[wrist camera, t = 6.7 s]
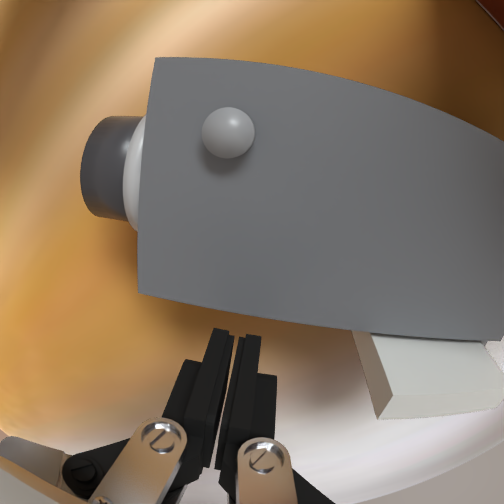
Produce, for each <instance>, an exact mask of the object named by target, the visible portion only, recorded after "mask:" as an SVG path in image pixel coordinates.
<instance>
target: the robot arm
mask: <svg viewBox="0 0 504 504" xmlns="http://www.w3.org/2000/svg"><path fill="white" fill-rule="evenodd" d="M233 343H234V336H232V335H229V331H228V330H222V329H217V328H214V329H213V331H212V334H211V337H210V340H209V343H208V346H207V349H206V352H205V355H204V358H203V361H202V362H197V361H192V360H188V359H185V361H184V363H183V365H182V368H181V370H180V372H179V375H178V377H177V380H176V382H175V385H174V387H173V390H172V392H171V395H170V397H169V400H168V402H167V405H166V407H165V410H164V413H163V415H162V418H157V417H156V418H152V419H148V420H146V421H144V422H143V423H142V424H141V425H140V426H139V427H138V428H137V430H136V431H135V433H134V434H133V436H132V437H131V438H129V439H126V440H123V441H120V442H116V443H113V444H110V445H107V446H103V447H100V448H97V449H93V450H90V451H86V452H82V453H78V454H75V455H73V456H72V455H68V454H65V452H64V451H61V450H57V449H53V448H50V447H46V446H43V445H40V444H37V443H34V442H30V441H28V440H25V439H22V438H19V437H14V436H10V437H6V438H5V439H3V440H2V441H1V443H0V504H179V502H180V500H181V498H182V496H183V494H184V492H185V490H186V488H187V485H188V484H189V483H191V482H193V481H195V480H197V479H199V475H200V474H202V470H203V467H206V468H209V467H210V463H211V458H212V454H213V449H214V444H215V440H216V435H217V431H218V426H219V422H220V417H221V413H222V408H223V403H224V399H225V394H226V389H227V383H228V376H229V369H230V363H231V356H232V350H233ZM260 346H261V336H256V335H250V334H246V338H243V337H239V341H238V346H237V350H236V355H235V360H234V365H233V369H232V374H231V379H230V383H229V388H228V393H227V398H226V402H225V407H224V412H223V417H222V422H221V427H220V434H219V440H218V447H217V454H216V461H215V468H214V469H216V470H221V472H220V477H219V484H220V485H221V486H222V488H223V489H224V490H225V491H226V492H227V504H335V503H334V502H332V501H331V500H330V499H329V498H327V497H326V496H325V495H323V494H322V493H321V492H320V491H319V490H317V489H316V488H315V487H314V486H312V485H311V484H310V483H309V482H308V481H306V480H305V479H304V478H303V477H302V476H301V475H299V474H298V473H297V472H296V471H295V470H294V469H293V468H292V466H291V460H290V455H289V453H288V450H287V449H286V448H285V447H284V446H283V445H282V444H281V443H279V442H278V441H276V440H274V435H275V416H276V395H277V376H275V375H268V374H261V373H257V372H258V364H259V355H260Z"/></svg>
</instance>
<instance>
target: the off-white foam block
mask: <svg viewBox="0 0 504 504" xmlns="http://www.w3.org/2000/svg"><path fill="white" fill-rule="evenodd" d="M351 331H352V335H353V338H354V341H355V344H356V347H357V351H358V354H359V357H360V361H361V364H362V367H363V371H364V374H365V378H366V381H367V385H368V388H369V392H370V396H371V399H372V403H373V407H374V411H375V414H376V417H377V420H389V419H413V418H427V417H438V416H448V415H456V414H464V413H471V412H477V411H483V410H489V409H494V408H497V407H498V406H499V404H500V403H501V402H502V400H503V399H504V373H503V372H502V370H501V369H500V367H499V366H498V365H497V363H496V362H495V360H494V359H493V358H492V356H491V355H490V353H489V352H488V351H487V349H486V348H485V347H484V345H483V344H482V343H481V341H480V340H459V339H442V338H427V337H414V336H402V335H392V334H381V333H372V332H363V331H354V330H351Z"/></svg>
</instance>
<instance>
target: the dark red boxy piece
mask: <svg viewBox="0 0 504 504" xmlns="http://www.w3.org/2000/svg"><path fill="white" fill-rule="evenodd" d="M475 1H477V2H478V3H479V5H480V6H481V7H482V8H483V9H484V10H485V11H486V12H487V13H488V14H489V15H490V16H491V17H492V18H493V19H494V20H495V22H496V23H497V24H498V25H499V26H500V27H501V28H502V30H503V31H504V0H475Z"/></svg>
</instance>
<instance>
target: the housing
mask: <svg viewBox="0 0 504 504" xmlns="http://www.w3.org/2000/svg"><path fill="white" fill-rule="evenodd" d="M80 183H81V191H82V195H83V199H84V202H85V204H86V206H87V208H88V209H89V211H90V212H91V213H92V214H94V215H95V216H98V217H104V218H110V219H116V220H123V221H129V223H130V225H131V226H132V228H133V229H134V230H135V231H137V232H138V244H137V264H138V293H141V294H145V295H149V296H154V297H158V298H163V299H167V300H172V301H177V302H182V303H186V304H191V305H196V306H201V307H206V308H212V309H217V310H222V311H227V312H233V313H239V314H244V315H250V316H256V317H262V318H268V319H274V320H281V321H287V322H294V323H300V324H307V325H315V326H322V327H329V328H337V329H345V330H354V331H363V332H372V333H381V334H392V335H402V336H414V337H427V338H442V339H459V340H480V341H481V343H482V344H483V345H484V347H485V345H486V343H487V341H501V339H502V337H503V336H504V141H502V140H500V139H498V138H497V137H495V136H493V135H491V134H489V133H487V132H485V131H483V130H481V129H479V128H477V127H475V126H473V125H471V124H469V123H467V122H465V121H463V120H461V119H459V118H457V117H454V116H452V115H450V114H448V113H445V112H443V111H441V110H438V109H436V108H433V107H431V106H428V105H426V104H423V103H421V102H418V101H415V100H413V99H410V98H407V97H404V96H401V95H398V94H395V93H392V92H389V91H386V90H383V89H380V88H377V87H373V86H370V85H367V84H363V83H359V82H356V81H352V80H348V79H344V78H340V77H336V76H332V75H327V74H323V73H318V72H313V71H308V70H303V69H298V68H292V67H286V66H280V65H273V64H266V63H258V62H249V61H240V60H228V59H214V58H188V57H160V58H155V63H154V69H153V74H152V80H151V86H150V93H149V99H148V106H147V114H146V115H145V116H144V117H139V116H110V117H107V118H105V119H103V120H102V121H101V122H100V123H99V124H98V125H97V126H96V127H95V128H94V130H93V131H92V133H91V135H90V137H89V139H88V141H87V143H86V146H85V149H84V152H83V157H82V162H81V171H80Z"/></svg>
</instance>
